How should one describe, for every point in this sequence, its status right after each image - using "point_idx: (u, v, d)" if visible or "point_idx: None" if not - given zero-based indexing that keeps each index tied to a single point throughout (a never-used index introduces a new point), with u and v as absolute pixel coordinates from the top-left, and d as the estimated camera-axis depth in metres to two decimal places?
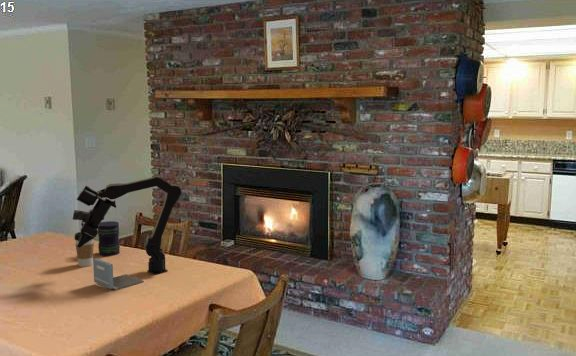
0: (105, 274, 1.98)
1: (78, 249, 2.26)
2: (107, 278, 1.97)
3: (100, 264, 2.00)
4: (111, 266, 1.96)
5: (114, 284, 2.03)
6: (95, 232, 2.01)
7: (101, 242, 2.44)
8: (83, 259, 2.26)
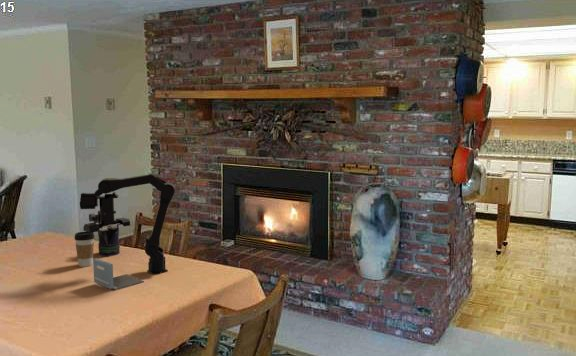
0: (105, 274, 1.98)
1: (78, 249, 2.26)
2: (107, 278, 1.97)
3: (100, 264, 2.00)
4: (111, 266, 1.96)
5: (114, 284, 2.03)
6: (89, 228, 2.06)
7: (101, 242, 2.44)
8: (83, 259, 2.26)
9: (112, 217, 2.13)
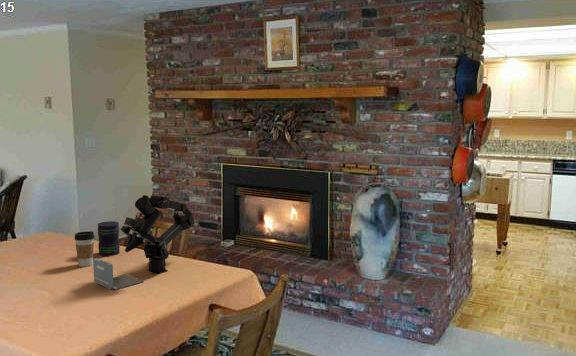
0: (105, 274, 1.98)
1: (78, 249, 2.26)
2: (107, 278, 1.97)
3: (100, 264, 2.00)
4: (111, 266, 1.96)
5: (114, 284, 2.03)
6: (155, 240, 2.07)
7: (101, 242, 2.44)
8: (83, 259, 2.26)
9: None
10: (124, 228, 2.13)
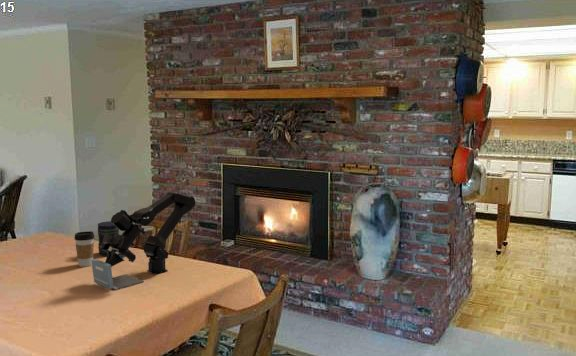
0: (104, 274, 1.98)
1: (78, 249, 2.26)
2: (106, 278, 1.97)
3: (99, 265, 1.99)
4: (109, 266, 1.96)
5: (114, 284, 2.03)
6: (134, 257, 2.00)
7: (101, 242, 2.44)
8: (83, 259, 2.26)
9: None
10: (103, 245, 2.07)
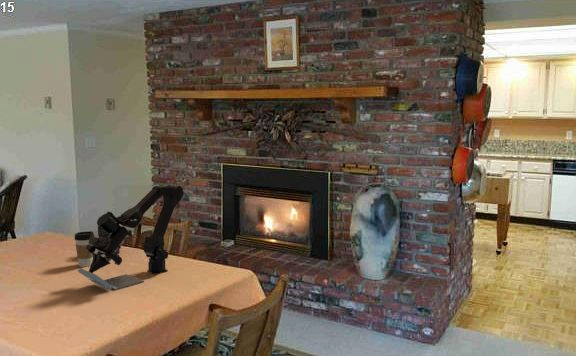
0: (97, 281, 1.96)
1: (78, 249, 2.26)
2: (101, 284, 1.96)
3: (87, 275, 1.96)
4: (96, 276, 1.92)
5: (114, 284, 2.03)
6: (121, 260, 1.95)
7: None
8: (83, 259, 2.26)
9: None
10: (89, 247, 2.02)
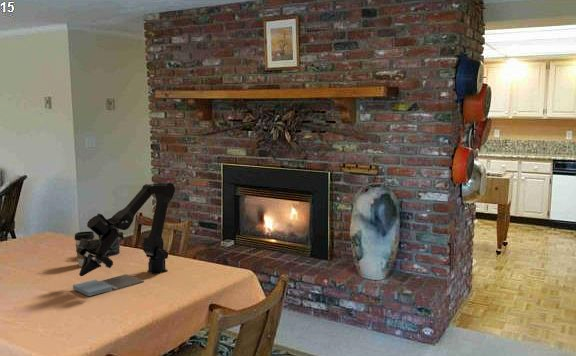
0: None
1: None
2: None
3: None
4: (90, 293, 1.91)
5: (114, 284, 2.03)
6: (111, 263, 1.93)
7: None
8: None
9: None
10: (80, 250, 1.99)
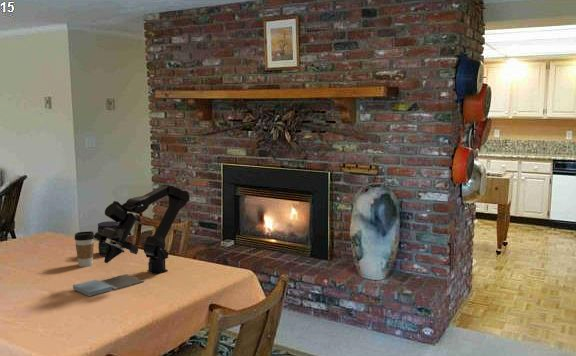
0: None
1: (78, 249, 2.26)
2: None
3: None
4: (90, 293, 1.91)
5: (114, 284, 2.03)
6: (137, 249, 2.01)
7: (101, 242, 2.44)
8: (83, 259, 2.26)
9: None
10: (98, 236, 2.02)
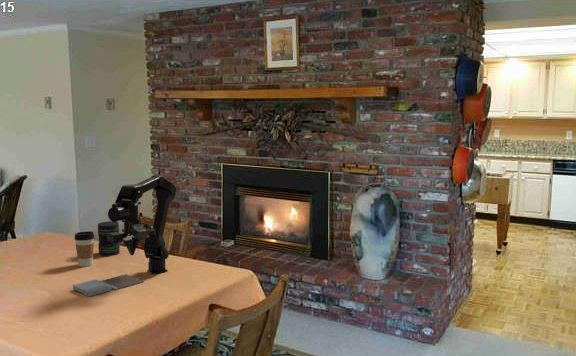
0: None
1: (78, 249, 2.26)
2: None
3: None
4: (90, 293, 1.91)
5: (114, 284, 2.03)
6: None
7: (101, 242, 2.44)
8: (83, 259, 2.26)
9: None
10: (121, 239, 1.96)
